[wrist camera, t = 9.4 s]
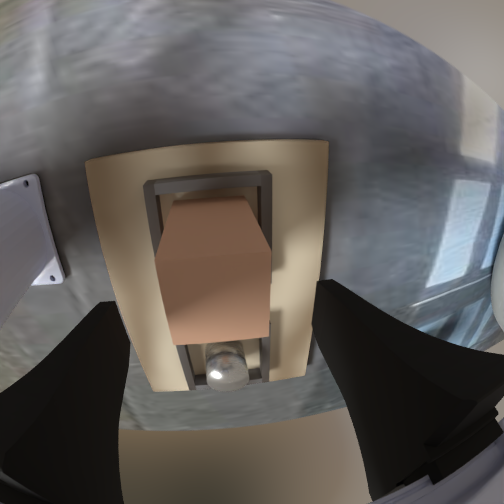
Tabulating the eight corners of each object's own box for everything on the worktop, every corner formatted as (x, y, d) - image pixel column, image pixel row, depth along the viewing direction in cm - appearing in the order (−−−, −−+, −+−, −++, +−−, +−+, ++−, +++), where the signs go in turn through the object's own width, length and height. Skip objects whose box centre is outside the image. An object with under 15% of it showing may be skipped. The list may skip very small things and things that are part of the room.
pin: (207, 364, 22) (209, 393, 19) (202, 338, 20) (204, 369, 18) (244, 360, 22) (249, 389, 19) (242, 334, 21) (248, 364, 18)
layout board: (154, 383, 23) (153, 401, 22) (90, 159, 14) (76, 165, 12) (301, 367, 25) (308, 384, 23) (322, 140, 16) (337, 144, 14)
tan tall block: (181, 263, 17) (173, 345, 11) (173, 200, 15) (154, 260, 9) (245, 258, 18) (268, 336, 12) (244, 195, 16) (271, 251, 10)
